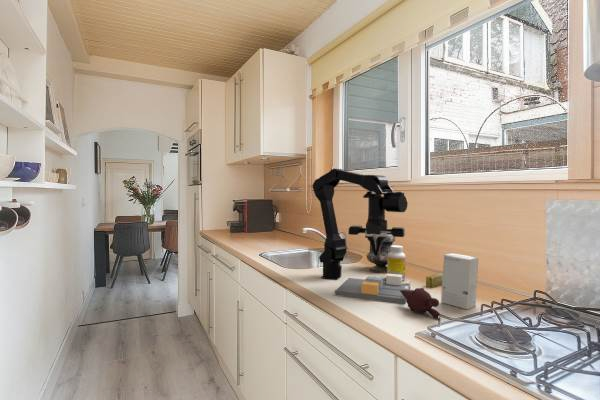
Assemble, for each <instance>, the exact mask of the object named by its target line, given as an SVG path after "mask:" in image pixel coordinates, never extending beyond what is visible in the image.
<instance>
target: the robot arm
mask: <svg viewBox="0 0 600 400" xmlns="http://www.w3.org/2000/svg"><path fill="white" fill-rule="evenodd" d="M340 181H343V182H347V183H351V184H354V185H358V186H359V187H362V188H363V189H364V190H366V191H367V192H366V193H365V194H363V196H362V197H363V199H368V200H367V202H368V207H367V209H368V211H367V220H366V223H365V227H363V225H351V226H349V227H348V235H355V236H356V235H357V236H358V235H359V234H365V235H364V238H366V239H367V238H368V239H369V240H368V239H367V240H368V242H369V244H370V243H371V245H372V248H373V251H374V255H375V256H377V255H378V252H379V250H380V247H381V244H382V242H383V240H384V239H386V238H387V237H388V234H392V235H393V236H394V237H395V238H404V237H405V235H406V233H405V232H406V231H405V230H406V229H405V228H404V227H403V226H400V227H399V226H392V227H391V228H388V220H387V219H386V212H389V213H405V212H406V211H407V210H408V201H407V197H406V196H405V192H404V191H395V192H394V190H393V188H392V187H391V186H390V184H389V181H388V179H387V177H386V176H384V175H379V174H377V175H376V174H362V173H357V172H352V171H348V170H344V169H341V168H332V169H331V170H329V171H328V172H327V173H324V174H322V175H321V176H320V177H318V178H316V179H315V180H314V181H313V183H312V189H313V193H314V195H315V197H316V198H317V200H318V201H319V203H320V208H321V215H322V219H323V225H324V230H325V236H326V238H325V241H324V244H323V248H324V249H323V250H324V251H323V252H322V253H321V254H320V255H319V257H318V259H319V262H320V263H322V275H321V279H329V280H339V279H340V278H341V277H342V265H341V262H343V261H344V258H345V256H346V254H347V250H348V247H347V244H346V243H347V241H346V238H342V237H341V236H340V233H339V229H338V223H337V219H336V214H335V207H334V202H333V198H334V195H335V188H336V187H337V186H338V185H339V183H340ZM374 234H376V235H379V236H378V237H377V247H376V235H374Z"/></svg>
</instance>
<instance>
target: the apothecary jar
mask: <svg viewBox="0 0 600 400" xmlns="http://www.w3.org/2000/svg"><path fill="white" fill-rule="evenodd" d="M374 235H376V234H374ZM378 236H379V235H376V247H377V237H378ZM366 239H367V241H369V239H368V238H366ZM395 241H396V237H394V236H393V235H392V234H388V237H387V238H386V239H384V240H383V242H382V244H381V247H380V250H379V252H378V255H377V256H375V255H374V251H373V248H372V245H371V243H370V242H369V252H368V253H367V254H366V259H367V261H368V262H370V263H371V264H374V265H373V266H371V267H370V268H368V270H369V271H370V272H373V273H378V274H379V273H382V274H384V273H385V274H388V253H389V252H391V249H390V246H393V243H394V242H395Z"/></svg>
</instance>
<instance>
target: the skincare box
mask: <svg viewBox="0 0 600 400" xmlns="http://www.w3.org/2000/svg"><path fill="white" fill-rule="evenodd" d="M442 266H443V267H442V272H443V280H442V286H441V298H440V299H441V300H440V301H441V303H442V304H446V305H450V306H454V307H457V308H461V309H464V310H469V309H472V308H474V307H476V306H477V288H478V276H479V275H478V274H479V257H476V256H472V255H466V254H460V253H447V254H443V265H442Z"/></svg>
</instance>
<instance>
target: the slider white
mask: <svg viewBox="0 0 600 400" xmlns="http://www.w3.org/2000/svg"><path fill="white" fill-rule="evenodd" d="M385 276H386V281H385V282H386V284H389V285H399V286H401V285H402V283H403V281H402V275H399V274H388V273H386V275H385Z"/></svg>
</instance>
